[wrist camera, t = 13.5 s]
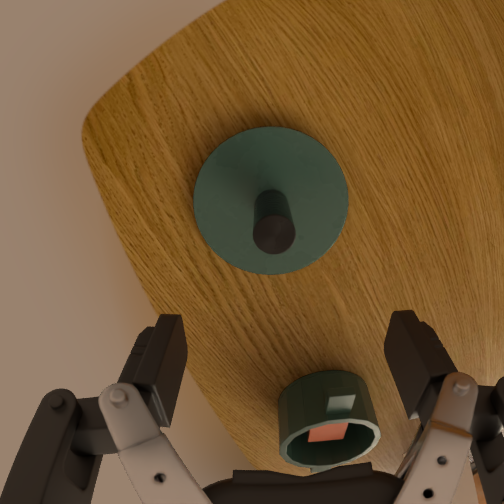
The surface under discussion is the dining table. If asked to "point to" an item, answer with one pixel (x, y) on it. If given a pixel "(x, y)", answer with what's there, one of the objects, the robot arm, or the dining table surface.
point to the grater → (465, 487)
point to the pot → (326, 419)
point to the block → (327, 432)
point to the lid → (270, 200)
